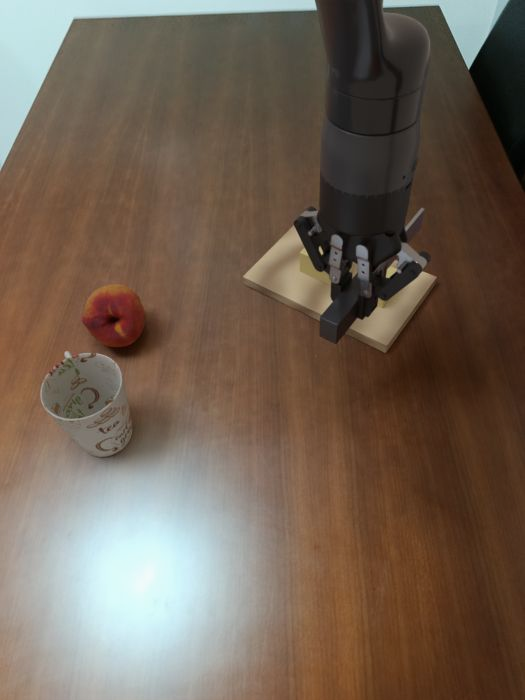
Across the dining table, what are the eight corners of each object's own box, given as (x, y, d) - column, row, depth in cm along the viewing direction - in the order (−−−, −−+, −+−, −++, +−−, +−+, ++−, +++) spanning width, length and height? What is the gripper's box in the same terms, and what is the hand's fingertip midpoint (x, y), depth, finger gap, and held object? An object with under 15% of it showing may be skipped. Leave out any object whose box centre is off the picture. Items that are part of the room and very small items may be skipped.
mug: (87, 480, 63) (57, 434, 55) (46, 401, 70) (14, 350, 62) (155, 441, 66) (136, 392, 58) (109, 368, 73) (86, 316, 65)
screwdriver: (336, 344, 58) (337, 325, 55) (319, 336, 58) (319, 316, 56) (427, 230, 67) (431, 209, 65) (411, 224, 68) (415, 203, 65)
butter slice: (396, 289, 76) (400, 270, 74) (382, 308, 75) (385, 289, 72) (383, 283, 77) (386, 264, 74) (368, 302, 75) (371, 283, 73)
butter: (352, 270, 79) (354, 251, 76) (337, 288, 77) (338, 269, 74) (315, 254, 81) (315, 235, 79) (299, 271, 79) (299, 252, 77)
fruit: (83, 356, 74) (63, 315, 68) (102, 309, 79) (85, 266, 73) (142, 361, 73) (128, 320, 67) (158, 313, 78) (146, 270, 72)
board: (435, 284, 79) (437, 276, 78) (385, 353, 72) (387, 345, 71) (298, 227, 87) (298, 219, 86) (243, 284, 80) (242, 276, 79)
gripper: (269, 160, 47) (277, 304, 61) (425, 218, 42) (395, 362, 56) (319, 117, 51) (316, 262, 65) (468, 165, 46) (430, 313, 59)
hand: (353, 308), depth 60 cm, fingers closed on screwdriver, 2 cm apart
